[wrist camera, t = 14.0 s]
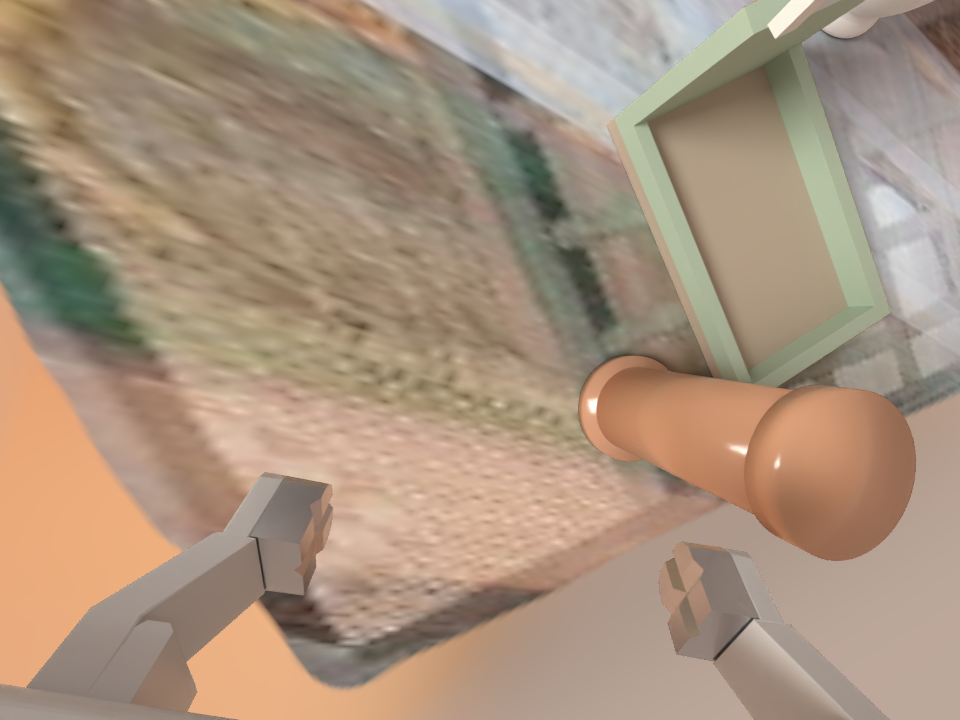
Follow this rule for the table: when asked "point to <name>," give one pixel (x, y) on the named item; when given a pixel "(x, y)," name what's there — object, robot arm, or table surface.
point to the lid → (795, 15)
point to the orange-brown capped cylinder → (773, 452)
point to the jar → (869, 16)
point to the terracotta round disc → (591, 397)
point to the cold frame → (752, 200)
